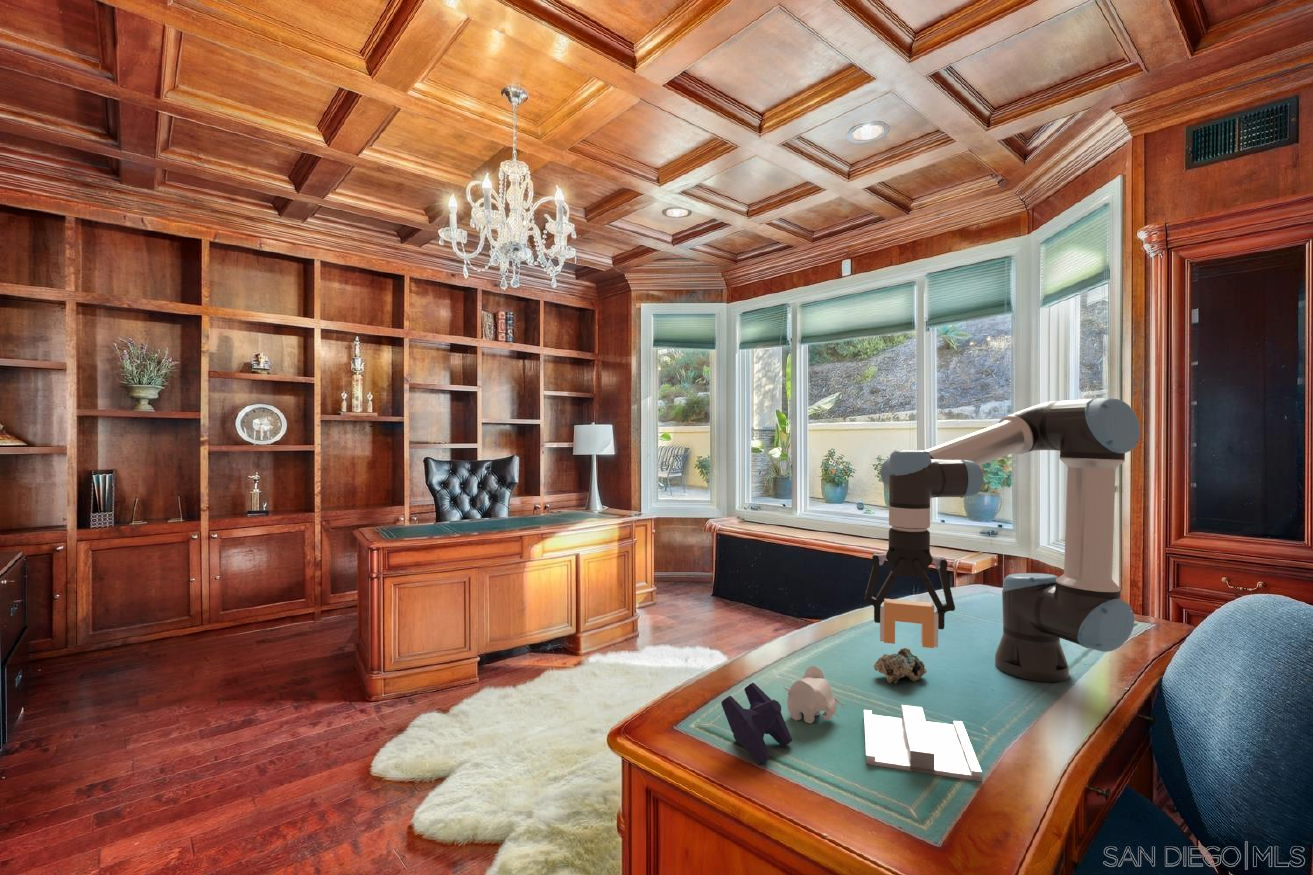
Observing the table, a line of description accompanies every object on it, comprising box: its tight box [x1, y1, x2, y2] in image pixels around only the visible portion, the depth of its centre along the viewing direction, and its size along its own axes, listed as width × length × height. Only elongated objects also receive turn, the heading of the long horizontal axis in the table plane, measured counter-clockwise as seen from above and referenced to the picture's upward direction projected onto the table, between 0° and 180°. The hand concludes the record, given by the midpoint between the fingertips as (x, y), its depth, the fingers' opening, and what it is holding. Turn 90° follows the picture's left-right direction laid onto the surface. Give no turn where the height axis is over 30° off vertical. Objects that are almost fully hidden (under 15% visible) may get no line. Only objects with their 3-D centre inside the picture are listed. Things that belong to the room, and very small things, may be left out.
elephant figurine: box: [782, 665, 845, 724], centre depth 122 cm, size 10×12×9 cm
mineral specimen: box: [873, 647, 928, 684], centre depth 141 cm, size 12×9×8 cm
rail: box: [863, 704, 983, 782], centre depth 110 cm, size 18×18×4 cm
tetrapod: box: [720, 682, 793, 765], centre depth 110 cm, size 11×12×11 cm
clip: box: [883, 598, 935, 649], centre depth 119 cm, size 9×3×8 cm, turn 71°
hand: (908, 641), depth 119 cm, fingers closed on clip, 9 cm apart
